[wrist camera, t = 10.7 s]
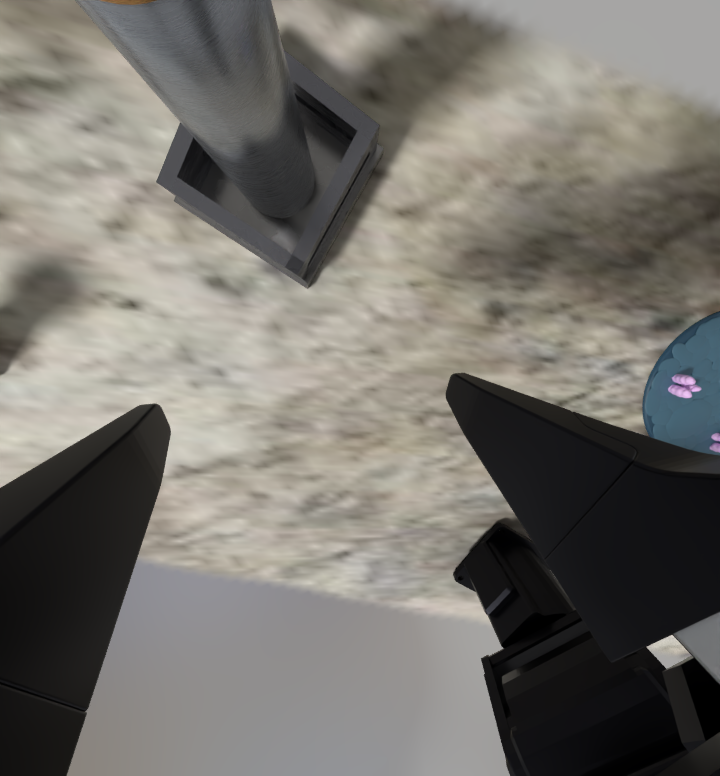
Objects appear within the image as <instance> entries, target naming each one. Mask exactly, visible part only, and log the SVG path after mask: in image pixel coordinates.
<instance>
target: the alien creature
mask: <svg viewBox="0 0 720 776" xmlns="http://www.w3.org/2000/svg"><path fill="white" fill-rule="evenodd" d="M643 419H644V423H645V427H646V430H647V432H648V434H649V436H650V437H651V438H655V439H658V440H661V441H664V442H667V443H670V444H674V445H677V446H680V447H683V448H686V449H690V450H694V451H698V452H702V453H707V454H714V455H720V311H719V312H716V313H714V314H712V315H709V316H707V317H705V318H703V319H702V320H700V321H698V322H697V323H695V324H694V325H692V326H691V327H689V328H688V329H686V330H685V331H684V332H683V333H682V334H680V335H679V336H678V337H677V338H676V339H675V340H674V341H673V342H672V343H671V344H670V345H669V346H668V348H667V349H666V350H665V351H664V353H663V354H662V355H661V356H660V358H659V359H658V361H657V363H656V364H655V366H654V368H653V370H652V372H651V374H650V376H649V379H648V381H647V384H646V387H645V391H644V397H643Z"/></svg>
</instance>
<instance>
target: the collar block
mask: <svg viewBox="0 0 720 776" xmlns="http://www.w3.org/2000/svg"><path fill="white" fill-rule="evenodd" d="M284 53H285V57H286V61H287V65H288V69H289V73H290V77H291V81H292V85H293V89H294V92H295V96H296V100H297V104H298V108H299V112H300V116H301V120H302V124H303V128H304V132H305V136H306V139H307V143H308V147H309V151H310V155H311V159H312V163H313V167H314V173H315V183H314V189H313V192H312V195H311V198H310V200H309V201H308V203H307V204H306V206H305V207H304V208H303V209H302V210H301V211H299V212H298V213H296V214H295V215H292V216H290V217H286V218H274V217H270V216H267V215H265V214H263V213H261V212H260V211H258V210H257V209H256V208H255V207H254V206H253V205H252V204H251V203H250V202H249V201H248V200H247V199H246V197H245V196H244V195H243V194H242V193H241V192H240V191H239V189H238V188H237V187H236V186H235V185H234V184H233V182H232V181H231V180H230V179H229V178H228V177H227V175H226V174H225V173H224V172H223V171H222V170H221V169H220V167H219V166H218V165H217V164H216V163H215V162H214V160H213V159H212V158H211V157H210V156H209V155H208V154H207V152H206V151H205V150H204V149H203V148H202V147H201V145H200V144H199V143H198V142H197V141H196V140H195V139H194V137H193V136H192V135H191V134H190V133H189V132H188V130H187V129H186V128H185V127H184V126H183V125H182V123H181V122H180V125H179V127H178V129H177V132H176V134H175V137H174V139H173V142H172V144H171V147H170V149H169V152H168V154H167V157H166V159H165V162H164V164H163V167H162V169H161V171H160V174H159V176H158V179H157V181H156V182H157V183H158V184H160V185H161V186H162V187H164V188H165V189H167V190H168V191H170V192H171V193H172V194H174V195H175V196H176V197H175V199H174V201H175V202H176V203H178V204H179V205H181V206H182V207H184V208H185V209H187V210H188V211H190V212H191V213H193V214H194V215H196V216H197V217H199V218H200V219H202V220H203V221H205V222H206V223H208V224H210V225H211V226H213V227H214V228H216V229H217V230H219V231H220V232H222V233H223V234H225V235H226V236H228V237H229V238H231V239H232V240H234V241H235V242H237V243H239V244H240V245H242V246H243V247H245V248H246V249H248V250H249V251H251V252H252V253H254V254H255V255H257V256H258V257H260V258H261V259H263V260H264V261H266V262H268V263H269V264H271V265H272V266H274V267H275V268H277V269H278V270H280V271H281V272H283V273H284V274H286V275H287V276H289V277H290V278H292V279H293V280H295V281H296V282H298V283H300V284H301V285H303V286H304V287H306V288H307V289H308V287H309V285H310V283H311V282H312V280H313V278H314V276H315V274H316V273H317V271H318V269H319V267H320V265H321V264H322V262H323V260H324V258H325V257H326V255H327V253H328V251H329V249H330V248H331V246H332V244H333V242H334V240H335V239H336V237H337V235H338V233H339V232H340V230H341V228H342V226H343V224H344V223H345V221H346V219H347V217H348V215H349V214H350V212H351V210H352V208H353V207H354V205H355V203H356V201H357V199H358V198H359V196H360V194H361V192H362V190H363V189H364V187H365V185H366V183H367V182H368V180H369V178H370V176H371V174H372V173H373V171H374V169H375V167H376V165H377V164H378V162H379V160H380V158H381V157H382V155H383V149H384V148H383V147H382V146H380V145H379V144H378V143H377V141H378V133H379V124H377V123H376V122H375V121H374V120H372V119H371V118H370V117H368V116H367V115H366V114H365V113H363V112H362V111H361V110H360V109H358V108H357V107H356V106H354V105H353V104H352V103H351V102H349V101H348V100H347V99H346V98H344V97H343V96H342V95H341V94H339V93H338V92H337V91H335V90H334V89H333V88H332V87H330V86H329V85H328V84H327V83H325V82H324V81H323V80H321V79H320V78H319V77H318V76H316V75H315V74H314V73H313V72H311V71H310V70H309V69H307V68H306V67H305V66H304V65H302V64H301V63H300V62H299V61H297V60H296V59H295V58H294V57H292V56H291V55H290V54H288V53H287V52H286V51H285V50H284Z"/></svg>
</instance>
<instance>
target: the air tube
mask: <svg viewBox="0 0 720 776" xmlns="http://www.w3.org/2000/svg"><path fill="white" fill-rule="evenodd" d="M75 1H76V2H77V3H78V4H79V6H80V7H81V8H82V9H83V10H84V11H85V13H86V14H87V15H88V16H89V17H90V18H91V20H92V21H93V22H94V23H95V24H96V25H97V26H98V28H99V29H100V30H101V31H102V32H103V33H104V35H105V36H106V37H107V38H108V39H109V40H110V41H111V43H112V44H113V45H114V46H115V47H116V48H117V50H118V51H119V52H120V53H121V54H122V55H123V56H124V58H125V59H126V60H127V61H128V62H129V63H130V65H131V66H132V67H133V68H134V69H135V70H136V72H137V73H138V74H139V75H140V76H141V77H142V78H143V80H144V81H145V82H146V83H147V84H148V85H149V87H150V88H151V89H152V90H153V91H154V92H155V93H156V95H157V96H158V97H159V98H160V99H161V100H162V102H163V103H164V104H165V105H166V106H167V107H168V108H169V110H170V111H171V112H172V113H173V114H174V115H175V117H176V118H177V119H178V120H179V121H180V122H181V123H182V125H183V126H184V127H185V128H186V129H187V130H188V132H189V133H190V134H191V135H192V136H193V137H194V139H195V140H196V141H197V142H198V143H199V144H200V145H201V147H202V148H203V149H204V150H205V151H206V152H207V154H208V155H209V156H210V157H211V158H212V159H213V160H214V162H215V163H216V164H217V165H218V166H219V167H220V169H221V170H222V171H223V172H224V173H225V174H226V175H227V177H228V178H229V179H230V180H231V181H232V182H233V184H234V185H235V186H236V187H237V188H238V189H239V191H240V192H241V193H242V194H243V195H244V196H245V197H246V199H247V200H248V201H249V202H250V203H251V204H252V205H253V206H254V207H255V208H256V209H257V210H258V211H260V212H261V213H263V214H265V215H267V216H270V217H274V218H286V217H290V216H292V215H295V214H296V213H298V212H299V211H301V210H302V209H303V208H304V207H305V206H306V204H307V203H308V201H309V200H310V198H311V195H312V192H313V189H314V183H315V173H314V167H313V163H312V159H311V155H310V151H309V147H308V143H307V139H306V136H305V132H304V128H303V124H302V120H301V116H300V112H299V108H298V104H297V100H296V96H295V92H294V89H293V85H292V81H291V77H290V73H289V69H288V65H287V61H286V57H285V53H284V49H283V45H282V42H281V38H280V34H279V30H278V26H277V22H276V18H275V14H274V10H273V6H272V2H271V0H75Z"/></svg>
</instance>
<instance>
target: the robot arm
mask: <svg viewBox="0 0 720 776" xmlns="http://www.w3.org/2000/svg"><path fill="white" fill-rule="evenodd" d="M446 399H447V402H448V404H449V406H450V408H451V410H452V412H453V414H454V416H455V418H456V420H457V422H458V424H459V426H460V427H461V429H462V431H463V433H464V435H465V436H466V438H467V440H468V441H469V443H470V444H471V446H472V448H473V449H474V451H475V452H476V454H477V455H478V457H479V459H480V460H481V462H482V463H483V465H484V466H485V468H486V469H487V471H488V473H489V474H490V476H491V477H492V479H493V480H494V482H495V484H496V485H497V487H498V488H499V490H500V491H501V493H502V494H503V496H504V498H505V499H506V501H507V502H508V504H509V505H510V507H511V508H512V510H513V512H514V513H515V515H516V516H517V518H518V519H519V521H520V523H521V524H522V526H523V527H524V529H525V530H526V532H527V533H528V535H529V537H530V538H531V540H530V539H528V538H526V537H525V536H523V535H521V534H520V533H518V532H516V531H514V530H513V529H511V528H509V527H508V526H506V525H504V524H502V523H498V524H496V525H495V526H494V527H493V528H492V529H491V530H490V531H489V532H488V534H487V535H486V536H485V537H484V538H483V539H482V540H481V542H480V543H479V544H478V545H477V546H476V547H475V548H474V550H473V551H472V552H471V553H470V554H469V555H468V556H467V558H466V559H465V560H464V561H463V562H462V563H461V564H460V566H459V567H458V568H457V569H456V570H455V571H454V573H453V576H454V578H455V581H456V582H458V583H460V584H462V585H463V586H465V587H467V588H469V589H471V590H473V591H475V592H476V593H477V595H478V598H479V600H480V602H481V604H482V607H483V609H484V611H485V613H486V614H487V615H488V617H489V619H490V622H491V624H492V626H493V628H494V630H495V633H496V635H497V637H498V639H499V642H500V644H501V646H502V647H503V649H502V650H500V651H498V652H496V653H494V654H492V655H490V656H489V655H486V656H485V657H483V658H481V661H482V664H483V668H484V672H485V674H484V677H485V680H486V685H487V688H488V692H489V696H490V700H491V704H492V708H493V712H494V716H495V719H496V723H497V727H498V731H499V735H500V739H501V743H502V746H503V750H504V753H505V758H506V765H507V768H508V771H509V774H510V776H720V455H714V454H707V453H702V452H698V451H694V450H690V449H686V448H683V447H680V446H677V445H674V444H670V443H667V442H664V441H661V440H658V439H655V438H651V437H648V436H645V435H642V434H639V433H635V432H632V431H629V430H626V429H623V428H620V427H617V426H614V425H611V424H608V423H605V422H602V421H599V420H596V419H593V418H590V417H587V416H584V415H582V414H579V413H576V412H572V411H570V410H567V409H565V408H562V407H559V406H556V405H553V404H550V403H548V402H545V401H542V400H539V399H536V398H534V397H531V396H528V395H525V394H522V393H520V392H517V391H514V390H511V389H508V388H505V387H503V386H500V385H497V384H494V383H491V382H489V381H486V380H483V379H480V378H477V377H474V376H472V375H469V374H466V373H455V374H452V375H451V377H450V380H449V383H448V387H447V390H446ZM170 435H171V430H170V426H169V423H168V421H167V419H166V417H165V414H164V412H163V410H162V408H161V406H160V405H158V404H145V405H139V406H137V407H136V408H134V409H132V410H131V411H129V412H127V413H126V414H124V415H122V416H120V417H119V418H117V419H115V420H114V421H112V422H110V423H109V424H107V425H105V426H104V427H102V428H100V429H99V430H97V431H95V432H94V433H92V434H90V435H89V436H87V437H85V438H84V439H82V440H80V441H78V442H77V443H75V444H73V445H72V446H70V447H68V448H67V449H65V450H63V451H62V452H60V453H58V454H57V455H55V456H53V457H52V458H50V459H48V460H47V461H45V462H43V463H41V464H40V465H38V466H36V467H35V468H33V469H31V470H30V471H28V472H26V473H25V474H23V475H21V476H20V477H18V478H16V479H15V480H13V481H11V482H10V483H8V484H6V485H5V486H3V487H1V488H0V776H67V773H68V770H69V766H70V763H71V760H72V757H73V754H74V751H75V748H76V745H77V742H78V739H79V736H80V732H81V729H82V727H83V724H84V721H85V717H86V714H87V713H86V712H85V711H86V710H87V709H88V707H89V704H90V701H91V698H92V695H93V692H94V689H95V686H96V683H97V680H98V677H99V673H100V670H101V667H102V664H103V661H104V658H105V655H106V652H107V649H108V646H109V643H110V639H111V637H112V634H113V631H114V628H115V624H116V621H117V618H118V615H119V612H120V609H121V606H122V603H123V600H124V596H125V594H126V591H127V588H128V584H129V582H130V579H131V575H132V572H133V569H134V566H135V563H136V560H137V557H138V554H139V551H140V548H141V545H142V542H143V539H144V536H145V533H146V529H147V526H148V523H149V520H150V517H151V514H152V511H153V508H154V505H155V502H156V499H157V496H158V493H159V489H160V486H161V482H162V478H163V473H164V467H165V462H166V457H167V451H168V446H169V440H170ZM501 529H502V530H501ZM499 530H500V531H499ZM550 570H551V571H552V573H553V574H554V575H553V574H552V573H551V571H550ZM554 576H555V577H554ZM670 635H673V636H674V637H675V638H676V639H677V640H678V641H679V642H680V643H681V644H682V645H683V646H684V648H685V649H686V650H687V651H688V652H689V653H690V654H691V655H692V656H690V657H688V658H686V659H685V660H683V661H681V662H679V663H677V664H675V665H673V666H672V667H670V668H668V669H666V668H665V667H664V666H663V665H662V664H661V663H660V661H659V660H657V658H656V657H655V656H654V655H653V654H652V653H651V652H650V651H649V650H648V649H647V648H646V647H647V646H649V645H651V644H653V643H655V642H657V641H659V640H661V639H664V638H666V637H668V636H670Z"/></svg>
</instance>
